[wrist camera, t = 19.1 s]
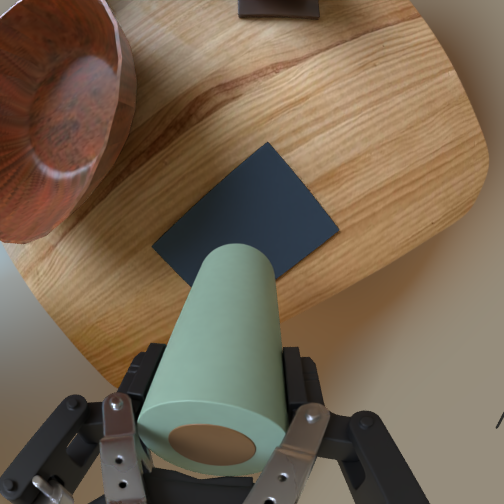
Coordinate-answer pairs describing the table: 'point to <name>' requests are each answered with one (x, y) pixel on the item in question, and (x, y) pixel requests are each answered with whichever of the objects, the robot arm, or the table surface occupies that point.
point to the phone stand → (279, 8)
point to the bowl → (59, 109)
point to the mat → (250, 218)
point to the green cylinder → (221, 371)
